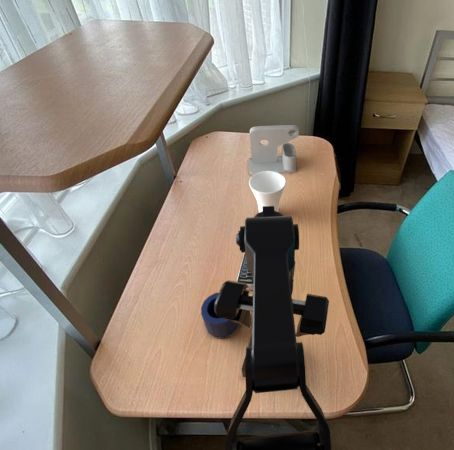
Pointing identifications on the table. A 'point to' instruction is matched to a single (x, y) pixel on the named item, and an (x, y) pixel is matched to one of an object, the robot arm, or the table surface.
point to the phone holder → (272, 149)
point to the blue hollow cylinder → (216, 320)
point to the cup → (267, 188)
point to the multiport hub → (245, 274)
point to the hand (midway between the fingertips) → (273, 330)
